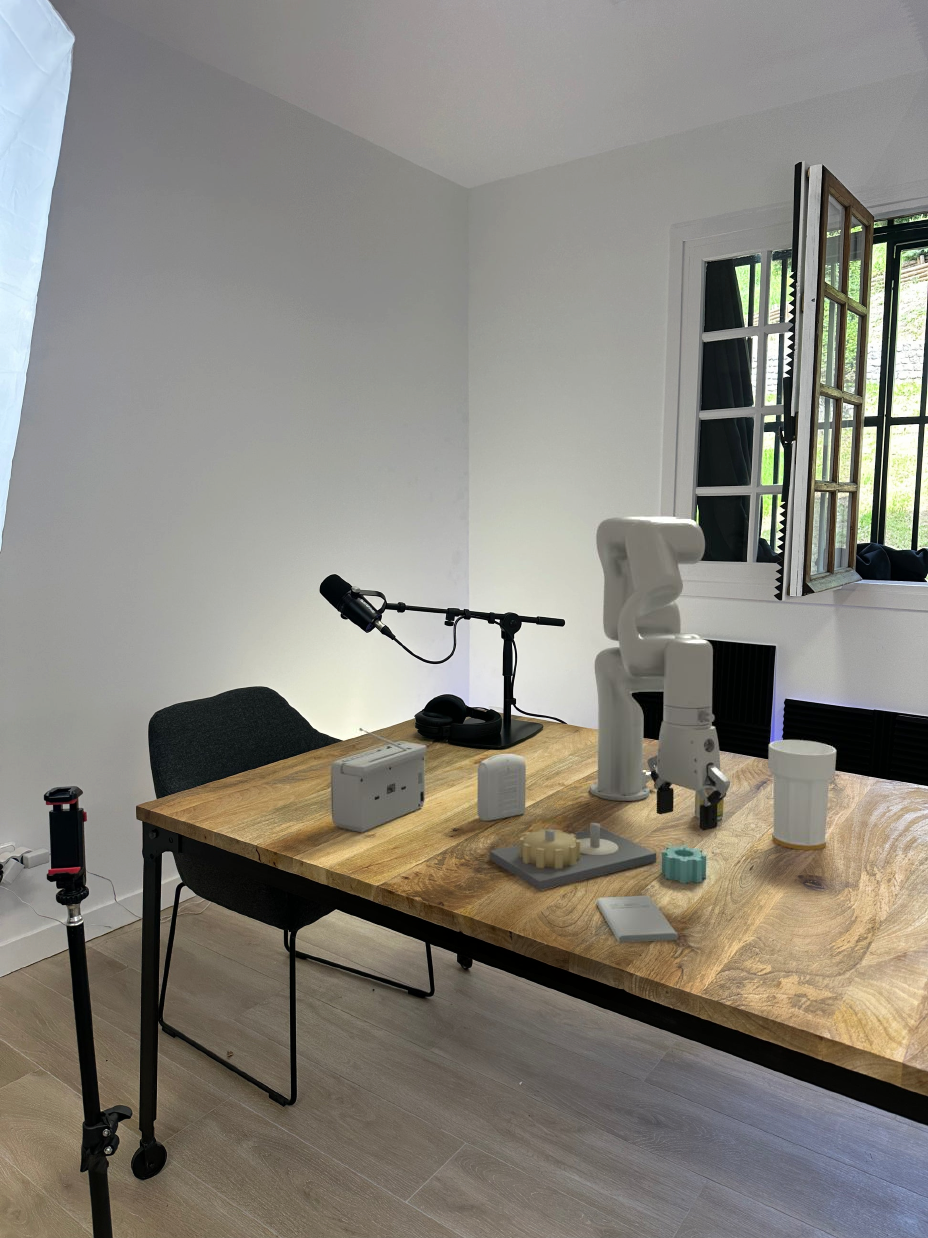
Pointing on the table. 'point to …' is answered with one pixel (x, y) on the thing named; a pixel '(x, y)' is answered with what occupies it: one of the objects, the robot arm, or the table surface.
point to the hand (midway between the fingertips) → (685, 820)
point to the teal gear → (683, 864)
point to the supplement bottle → (699, 802)
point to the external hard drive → (635, 919)
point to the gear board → (569, 856)
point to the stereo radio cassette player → (377, 785)
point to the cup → (801, 792)
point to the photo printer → (501, 787)
